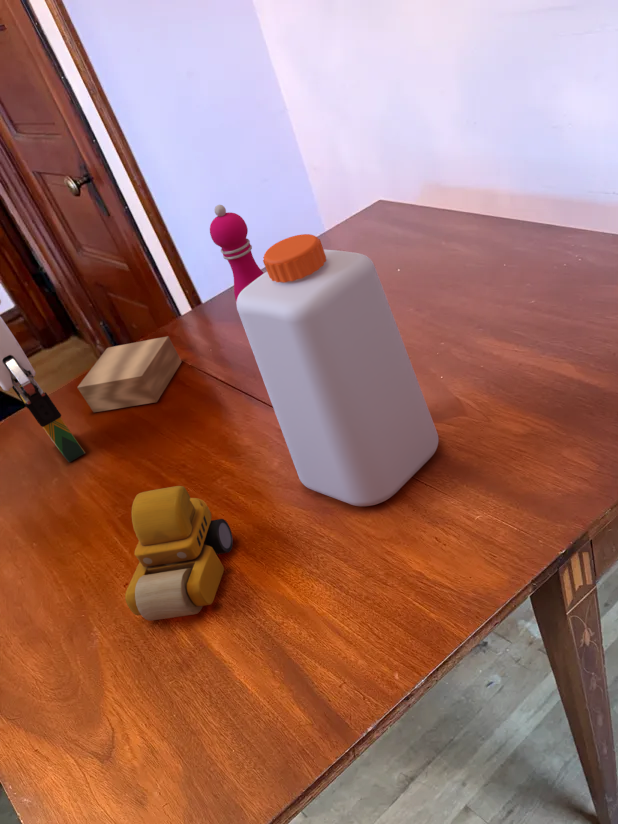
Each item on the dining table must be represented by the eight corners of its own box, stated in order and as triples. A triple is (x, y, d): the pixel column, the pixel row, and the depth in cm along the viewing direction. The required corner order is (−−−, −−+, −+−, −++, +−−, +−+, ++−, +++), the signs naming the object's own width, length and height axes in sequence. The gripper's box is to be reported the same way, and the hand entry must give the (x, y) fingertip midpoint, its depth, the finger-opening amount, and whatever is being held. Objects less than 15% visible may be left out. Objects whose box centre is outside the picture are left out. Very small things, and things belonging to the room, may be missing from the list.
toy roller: (138, 632, 82) (86, 567, 75) (172, 540, 92) (130, 476, 85) (212, 621, 80) (166, 553, 73) (238, 529, 90) (200, 462, 83)
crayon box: (55, 446, 117) (11, 384, 110) (72, 436, 118) (29, 374, 111) (68, 464, 112) (22, 399, 105) (86, 453, 113) (42, 389, 105)
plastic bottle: (289, 486, 94) (189, 277, 75) (365, 416, 100) (291, 209, 82) (377, 519, 85) (288, 292, 66) (454, 440, 91) (394, 214, 73)
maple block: (93, 412, 122) (76, 387, 119) (122, 372, 131) (107, 347, 127) (157, 402, 119) (141, 375, 116) (182, 361, 128) (168, 335, 124)
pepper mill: (239, 325, 132) (188, 213, 119) (270, 305, 135) (224, 193, 121) (261, 333, 127) (210, 217, 114) (293, 312, 130) (247, 196, 117)
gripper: (-70, 302, 103) (7, 406, 115) (-48, 333, 92) (36, 446, 103) (-20, 277, 106) (51, 382, 118) (8, 304, 94) (84, 418, 106)
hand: (43, 411), depth 110 cm, fingers closed on crayon box, 7 cm apart
